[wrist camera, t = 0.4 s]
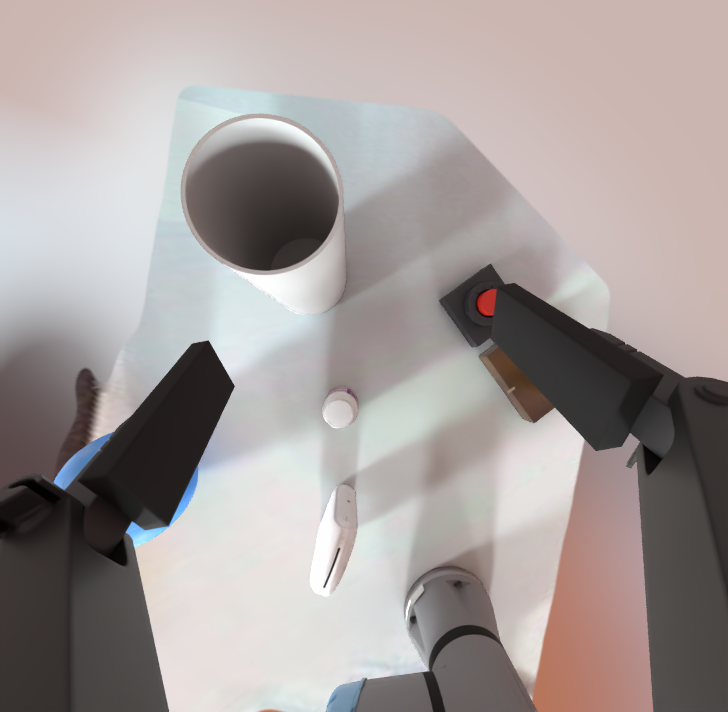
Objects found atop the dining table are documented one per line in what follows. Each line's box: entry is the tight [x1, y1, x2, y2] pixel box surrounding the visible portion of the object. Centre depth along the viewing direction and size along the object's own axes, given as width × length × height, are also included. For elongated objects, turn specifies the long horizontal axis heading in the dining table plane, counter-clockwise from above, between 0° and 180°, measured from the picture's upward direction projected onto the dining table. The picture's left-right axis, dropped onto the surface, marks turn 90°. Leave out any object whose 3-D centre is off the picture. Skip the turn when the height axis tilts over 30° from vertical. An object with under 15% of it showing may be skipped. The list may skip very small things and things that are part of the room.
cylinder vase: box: [181, 114, 346, 315], centre depth 34 cm, size 12×12×25 cm
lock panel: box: [479, 344, 555, 423], centre depth 47 cm, size 14×11×3 cm
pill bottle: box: [322, 386, 358, 428], centre depth 42 cm, size 5×5×10 cm
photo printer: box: [310, 485, 358, 596], centre depth 41 cm, size 10×4×12 cm, turn 159°
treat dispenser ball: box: [54, 432, 198, 547], centre depth 38 cm, size 16×15×15 cm
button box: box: [439, 264, 505, 347], centre depth 46 cm, size 10×10×4 cm
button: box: [477, 289, 497, 316], centre depth 44 cm, size 4×4×2 cm
